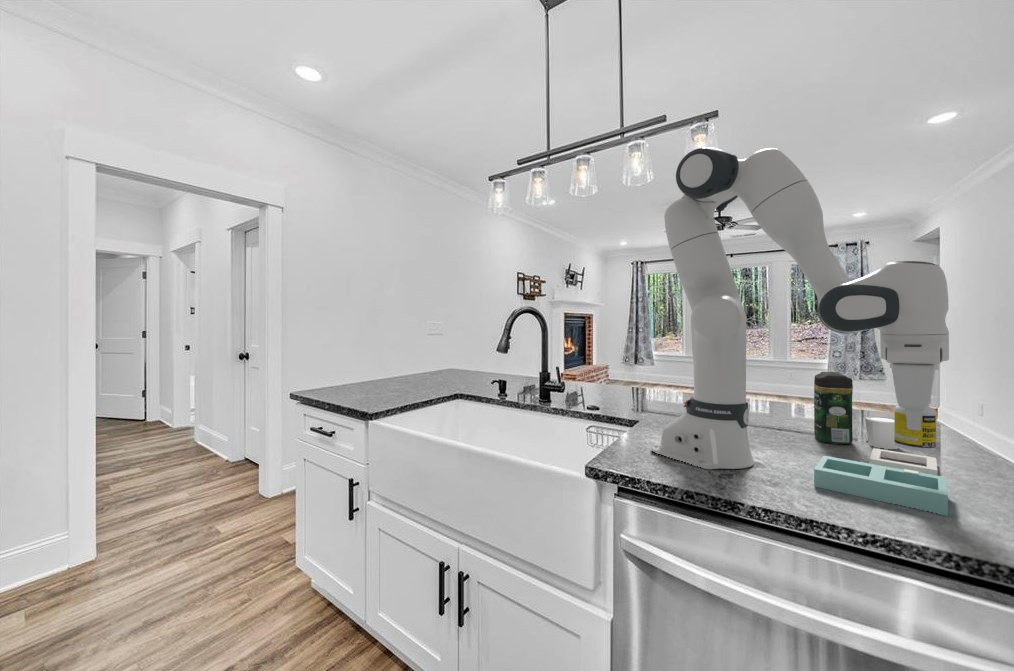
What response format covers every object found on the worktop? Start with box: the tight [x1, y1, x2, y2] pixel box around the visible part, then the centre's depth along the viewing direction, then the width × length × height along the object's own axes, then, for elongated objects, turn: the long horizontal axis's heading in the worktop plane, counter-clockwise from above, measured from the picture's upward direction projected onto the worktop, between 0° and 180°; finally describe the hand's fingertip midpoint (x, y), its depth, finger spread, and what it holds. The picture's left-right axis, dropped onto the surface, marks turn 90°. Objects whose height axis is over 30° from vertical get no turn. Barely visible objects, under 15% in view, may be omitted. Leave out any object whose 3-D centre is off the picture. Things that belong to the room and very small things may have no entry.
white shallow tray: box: [868, 447, 938, 476], centre depth 92 cm, size 10×10×2 cm
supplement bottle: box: [893, 398, 937, 453], centre depth 74 cm, size 5×5×10 cm
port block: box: [813, 455, 949, 517], centre depth 78 cm, size 18×11×4 cm, turn 45°
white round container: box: [865, 416, 899, 450], centre depth 105 cm, size 7×7×7 cm
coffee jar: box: [813, 371, 854, 446], centre depth 110 cm, size 10×8×19 cm
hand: (914, 425), depth 74 cm, fingers closed on supplement bottle, 5 cm apart
